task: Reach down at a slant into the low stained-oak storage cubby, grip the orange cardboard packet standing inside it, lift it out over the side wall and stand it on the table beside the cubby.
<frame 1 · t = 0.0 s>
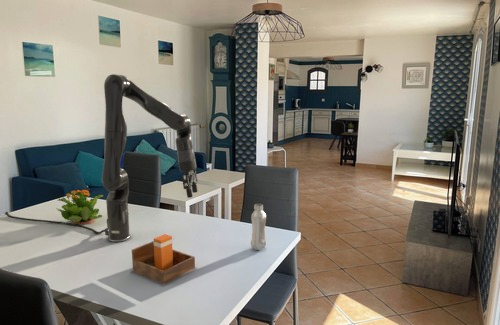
hand: (192, 194, 168), 22 cm above the table, tool pointing down, fingers open, 8 cm apart
packet: (164, 269, 144), resting on cubby
cubby: (164, 270, 144), on the table
plastic bottle: (258, 249, 165), on the table
potted flower: (83, 222, 199), on the table
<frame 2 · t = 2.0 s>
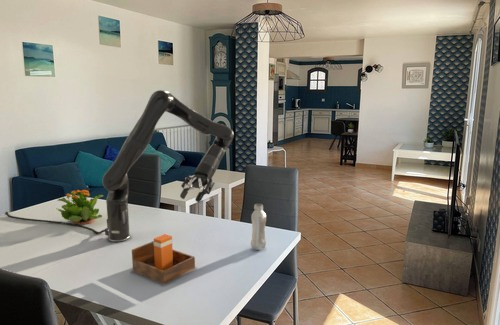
hand: (189, 199, 152), 25 cm above the table, tool tilted 45°, fingers open, 8 cm apart
nothing on the table moved.
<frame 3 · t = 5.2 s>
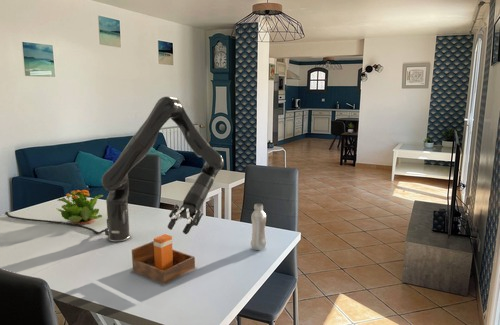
hand: (176, 231, 148), 14 cm above the table, tool tilted 45°, fingers open, 8 cm apart
nothing on the table moved.
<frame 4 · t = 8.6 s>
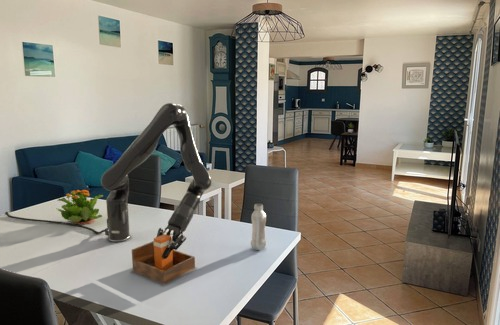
hand: (159, 256, 142), 7 cm above the table, tool tilted 45°, fingers closed on packet, 4 cm apart
packet: (164, 269, 144), resting on cubby, touching gripper
everything else where it was.
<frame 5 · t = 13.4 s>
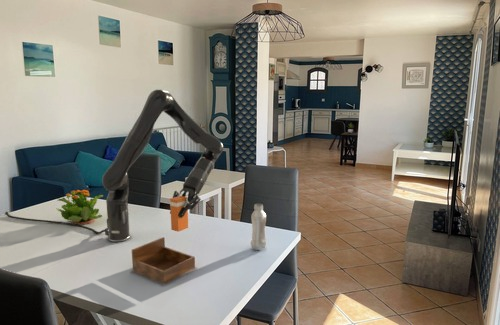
hand: (175, 215, 150), 19 cm above the table, tool tilted 45°, fingers closed on packet, 4 cm apart
packet: (179, 228, 153), point 13 cm above the table, touching gripper
everything else where it was.
when the fingers open (6 cm above the table, at t = 18.3 s): packet stays where it is, on the table.
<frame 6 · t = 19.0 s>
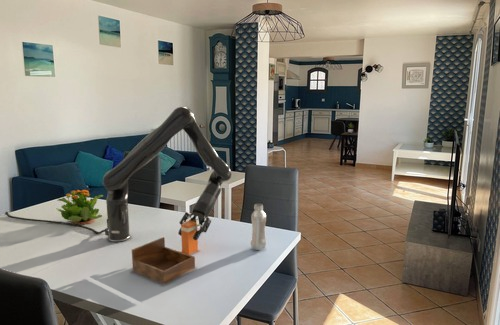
hand: (187, 237, 159), 7 cm above the table, tool tilted 45°, fingers open, 8 cm apart
packet: (190, 252, 161), on the table
everything else where it was.
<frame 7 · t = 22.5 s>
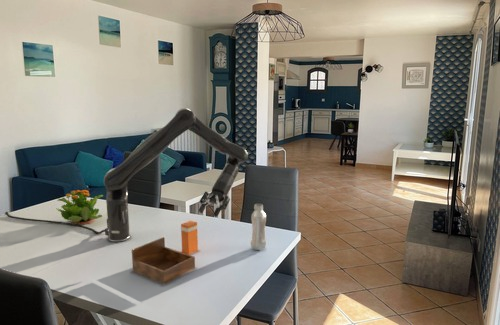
hand: (207, 214, 168), 14 cm above the table, tool tilted 45°, fingers open, 8 cm apart
nothing on the table moved.
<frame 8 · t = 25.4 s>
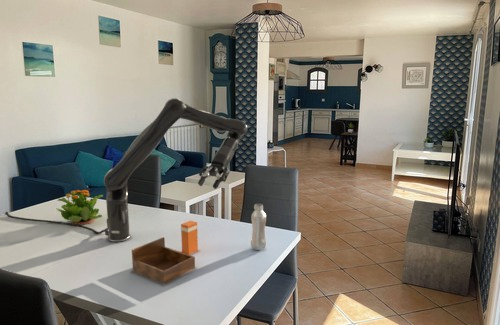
hand: (206, 186, 166), 27 cm above the table, tool tilted 45°, fingers open, 8 cm apart
nothing on the table moved.
at the end: packet inside the target area (0.4 cm from its centre), on the table; packet tilted 0°; the gripper is holding nothing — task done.
